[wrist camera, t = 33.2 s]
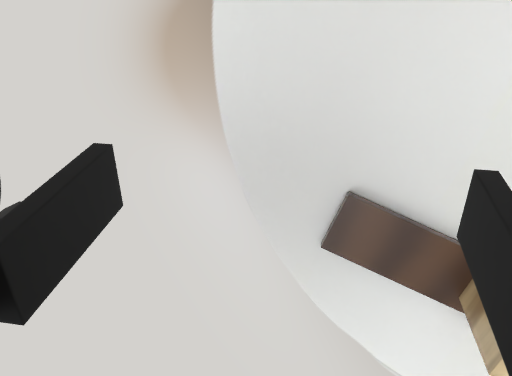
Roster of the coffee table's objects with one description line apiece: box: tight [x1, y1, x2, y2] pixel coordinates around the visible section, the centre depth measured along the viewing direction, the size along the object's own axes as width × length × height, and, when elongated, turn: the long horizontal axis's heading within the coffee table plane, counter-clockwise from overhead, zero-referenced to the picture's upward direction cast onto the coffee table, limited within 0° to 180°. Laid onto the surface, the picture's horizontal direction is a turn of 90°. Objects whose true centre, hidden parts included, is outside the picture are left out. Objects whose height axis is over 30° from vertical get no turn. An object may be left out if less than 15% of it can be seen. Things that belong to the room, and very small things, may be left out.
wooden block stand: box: [321, 192, 509, 376], centre depth 37 cm, size 24×6×11 cm, turn 68°
